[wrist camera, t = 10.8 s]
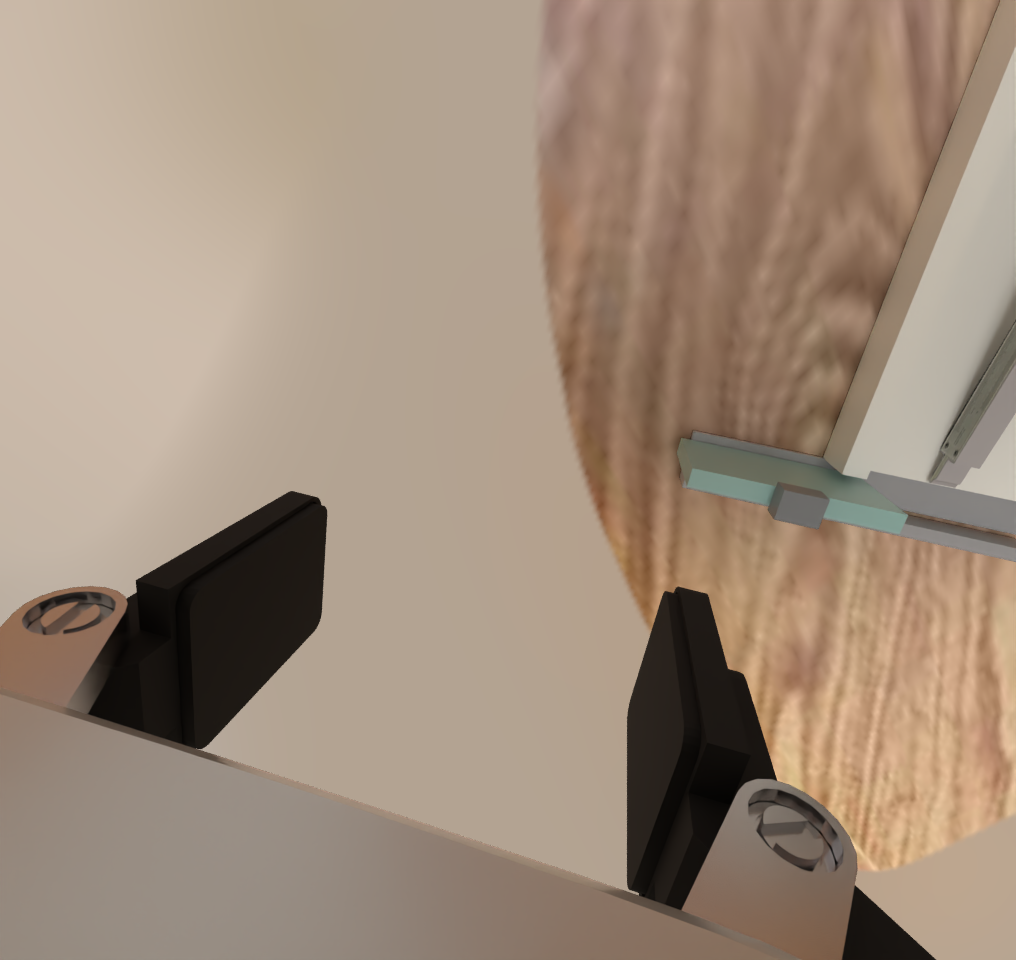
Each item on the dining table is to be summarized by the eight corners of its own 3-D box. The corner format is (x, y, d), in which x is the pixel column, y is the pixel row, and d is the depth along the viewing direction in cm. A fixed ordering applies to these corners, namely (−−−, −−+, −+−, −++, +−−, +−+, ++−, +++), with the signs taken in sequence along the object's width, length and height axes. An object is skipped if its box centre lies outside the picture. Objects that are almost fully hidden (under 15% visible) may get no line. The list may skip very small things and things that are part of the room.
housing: (1440, -242, 16) (1577, -332, 14) (1007, 549, 25) (1045, 575, 23) (897, -261, 18) (936, -343, 16) (679, 476, 27) (684, 494, 25)
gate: (858, 470, 25) (923, 520, 20) (848, 494, 26) (909, 549, 20) (682, 433, 26) (697, 470, 21) (675, 457, 27) (688, 499, 21)
